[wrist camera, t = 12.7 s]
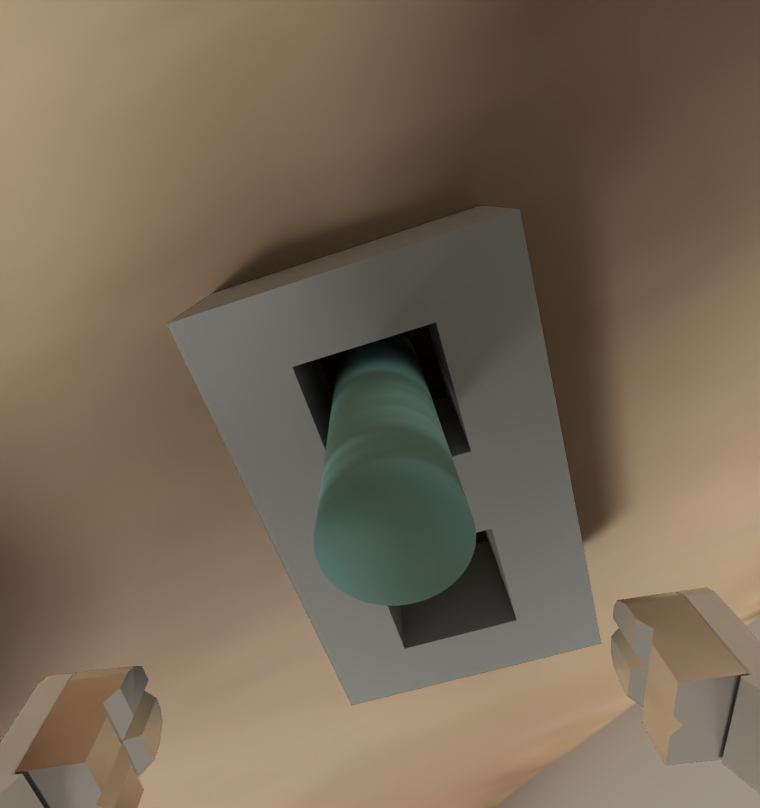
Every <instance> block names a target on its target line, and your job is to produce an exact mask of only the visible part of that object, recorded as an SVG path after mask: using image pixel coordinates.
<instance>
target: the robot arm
mask: <svg viewBox="0 0 760 808" xmlns="http://www.w3.org/2000/svg"><path fill="white" fill-rule="evenodd" d="M613 618H614V620H615V622H616V623H617V625H618V627H619V628H618V630H617V631H616V632H615V633H614V634H613V635H612V636H611V655H612V659H613V664H614V669H615V671H616V674H617V676H618V679H619V681H620V683H621V685H622V687H623V689H624V691H625V693H626V695H627V696H628V697H629V698H630V699H632V700H633V701H635V702H636V703H637V704H639V705H640V706H642V707H643V708H644V709H643V717H642V724H643V726H644V727H645V729H646V731H647V733H648V735H649V737H650V738H651V740H652V742H653V744H654V745H655V747H656V749H657V751H658V753H659V755H660V756H661V758H662V760H663V762H664V764H665V765H674V764H683V763H692V762H702V761H712V760H722V764H724V765H725V766H726V767H727V768H728V769H730V770H731V771H732V772H733V773H735V774H736V775H737V776H738V777H739V778H741V779H742V780H743V781H744V782H745V783H747V784H748V785H749V786H750V787H751V788H753V789H754V790H755V791H756V792H758V793H759V794H760V641H759V640H758V639H757V637H756V636H755V635H754V634H753V633H752V632H751V631H750V630H749V629H748V628H747V626H746V625H745V624H744V623H743V622H742V621H741V620H740V619H739V618H738V617H737V616H736V614H735V613H734V612H733V611H732V610H731V609H730V608H729V607H728V606H727V605H726V604H725V603H724V601H723V600H722V599H721V598H720V597H719V596H718V595H717V594H716V593H715V592H714V591H712V590H710V589H709V588H700V589H692V590H685V591H678V592H675V593H674V592H669V593H662V594H656V595H649V596H642V597H635V598H629V599H622V600H617V602H616V603H615V605H614V610H613ZM147 682H148V678H147V676H146V674H145V672H144V670H143V668H142V666H130V667H121V668H112V669H102V670H93V671H84V672H77V673H69V674H60V675H52V676H48V677H46V678H45V679H44V680H42V681H41V682H40V683H39V684H38V685H37V686H36V688H35V689H34V691H33V692H32V694H31V696H30V697H29V699H28V700H27V702H26V703H25V705H24V707H23V708H22V710H21V711H20V713H19V714H18V716H17V717H16V719H15V721H14V722H13V724H12V725H11V727H10V728H9V730H8V732H7V733H6V735H5V736H4V738H3V739H2V741H1V742H0V808H138V805H139V802H140V799H141V796H142V794H143V791H144V789H143V786H142V783H141V780H140V775H141V774H142V773H143V772H144V771H145V770H146V769H147V767H148V766H149V765H150V764H151V763H152V762H153V761H154V759H155V756H156V753H157V750H158V747H159V744H160V738H161V729H162V716H161V708H160V706H159V703H158V701H157V699H156V698H155V697H154V696H152V695H151V694H149V693H147V692H146V691H144V690H145V687H146V685H147Z"/></svg>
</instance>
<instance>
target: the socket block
mask: <svg viewBox="0 0 760 808" xmlns="http://www.w3.org/2000/svg"><path fill="white" fill-rule="evenodd" d="M166 325H167V327H168V329H169V331H170V333H171V335H172V337H173V339H174V341H175V343H176V345H177V347H178V349H179V351H180V353H181V355H182V357H183V360H184V362H185V364H186V366H187V368H188V370H189V372H190V374H191V376H192V378H193V380H194V382H195V384H196V386H197V388H198V390H199V392H200V395H201V397H202V399H203V401H204V403H205V405H206V407H207V409H208V411H209V413H210V415H211V417H212V419H213V421H214V423H215V425H216V427H217V430H218V432H219V434H220V436H221V438H222V440H223V442H224V444H225V446H226V448H227V450H228V452H229V454H230V456H231V458H232V460H233V462H234V465H235V467H236V469H237V471H238V473H239V475H240V477H241V479H242V481H243V483H244V485H245V487H246V489H247V491H248V493H249V495H250V497H251V500H252V502H253V504H254V506H255V508H256V510H257V512H258V514H259V516H260V518H261V520H262V522H263V524H264V526H265V528H266V530H267V532H268V535H269V537H270V539H271V541H272V543H273V545H274V547H275V549H276V551H277V553H278V555H279V557H280V559H281V561H282V563H283V565H284V567H285V570H286V572H287V574H288V576H289V578H290V580H291V582H292V584H293V586H294V588H295V590H296V592H297V594H298V596H299V598H300V600H301V602H302V605H303V607H304V609H305V611H306V613H307V615H308V617H309V619H310V621H311V623H312V625H313V627H314V629H315V631H316V633H317V635H318V637H319V640H320V642H321V644H322V646H323V648H324V650H325V652H326V654H327V656H328V658H329V660H330V662H331V664H332V666H333V668H334V670H335V672H336V674H337V677H338V679H339V681H340V683H341V685H342V687H343V689H344V691H345V693H346V695H347V697H348V699H349V701H350V703H351V705H355V704H360V703H364V702H368V701H372V700H376V699H380V698H384V697H388V696H392V695H396V694H400V693H404V692H408V691H412V690H416V689H420V688H424V687H428V686H432V685H436V684H440V683H444V682H448V681H452V680H456V679H460V678H464V677H468V676H472V675H477V674H481V673H485V672H489V671H493V670H497V669H501V668H505V667H509V666H513V665H517V664H521V663H525V662H529V661H533V660H537V659H541V658H545V657H549V656H553V655H557V654H561V653H565V652H569V651H573V650H577V649H581V648H585V647H590V646H594V645H598V644H601V639H600V634H599V629H598V623H597V618H596V613H595V607H594V602H593V597H592V591H591V586H590V581H589V575H588V570H587V565H586V559H585V554H584V549H583V543H582V538H581V533H580V527H579V522H578V516H577V511H576V506H575V500H574V495H573V490H572V484H571V479H570V474H569V468H568V463H567V458H566V452H565V447H564V442H563V436H562V431H561V426H560V420H559V415H558V410H557V404H556V399H555V394H554V388H553V383H552V378H551V372H550V367H549V361H548V356H547V351H546V345H545V340H544V335H543V329H542V324H541V319H540V313H539V308H538V303H537V297H536V292H535V287H534V281H533V276H532V271H531V265H530V260H529V255H528V249H527V244H526V239H525V233H524V228H523V223H522V217H521V212H520V209H515V208H505V207H495V206H484V205H480V206H477V207H474V208H471V209H468V210H465V211H462V212H459V213H456V214H453V215H450V216H447V217H444V218H441V219H438V220H435V221H431V222H428V223H425V224H422V225H419V226H416V227H413V228H410V229H407V230H404V231H401V232H398V233H395V234H392V235H389V236H386V237H383V238H380V239H377V240H374V241H371V242H367V243H364V244H361V245H358V246H355V247H352V248H349V249H346V250H343V251H340V252H337V253H334V254H331V255H328V256H325V257H322V258H319V259H316V260H313V261H310V262H307V263H303V264H300V265H297V266H294V267H291V268H288V269H285V270H282V271H279V272H276V273H273V274H270V275H267V276H264V277H261V278H258V279H255V280H252V281H249V282H246V283H243V284H240V285H236V286H233V287H230V288H227V289H224V290H221V291H218V292H215V293H212V294H211V295H209V296H208V297H206V298H205V299H203V300H202V301H200V302H199V303H197V304H196V305H194V306H193V307H191V308H190V309H188V310H187V311H185V312H184V313H182V314H181V315H179V316H178V317H176V318H175V319H173V320H172V321H170V322H169V323H167V324H166ZM426 325H428V327H429V331H430V334H431V338H432V341H433V345H434V349H435V352H436V356H437V359H438V363H439V367H440V370H441V374H442V377H443V381H444V385H445V388H446V392H447V395H448V397H445V398H442V399H439V400H435V401H433V404H434V407H435V410H436V412H437V415H438V418H439V421H440V424H441V427H442V430H443V433H444V436H445V438H446V441H447V444H448V447H449V450H450V453H451V456H452V459H453V462H454V464H455V467H456V470H457V473H458V476H459V479H460V482H461V485H462V488H463V490H464V493H465V496H466V499H467V502H468V505H469V508H470V511H471V514H472V516H473V519H474V523H475V528H476V533H477V532H481V531H484V530H485V532H486V536H487V539H488V541H485V542H481V543H478V544H476V545H475V550H474V553H473V556H472V559H471V561H470V563H469V565H468V566H467V568H466V570H465V571H464V573H463V574H462V575H461V576H460V577H459V579H457V580H456V581H455V582H454V583H453V584H452V585H451V586H450V587H448V588H447V589H446V590H444V591H442V592H441V593H439V594H437V595H435V596H433V597H431V598H429V599H426V600H423V601H420V602H417V603H412V604H407V605H398V606H386V605H376V604H371V603H367V602H364V601H361V600H358V599H355V598H353V597H351V596H349V595H347V594H346V593H344V592H342V591H341V590H339V589H338V588H337V587H336V586H334V585H333V584H332V583H331V582H330V581H329V580H328V579H327V577H326V576H325V575H324V573H323V572H322V570H321V568H320V566H319V565H318V562H317V559H316V556H315V552H314V540H313V539H314V531H315V523H316V516H317V509H318V502H319V494H320V487H321V480H322V473H323V465H324V458H325V451H326V444H327V437H328V429H329V422H330V415H331V408H332V400H333V394H332V391H331V388H330V386H329V383H328V380H327V378H326V375H325V372H324V370H323V367H322V364H321V362H320V358H323V357H326V356H329V355H333V354H336V353H339V352H342V351H345V350H349V349H352V348H355V347H358V346H362V345H365V344H368V343H371V342H374V341H378V340H381V339H384V338H387V337H391V336H394V335H397V334H400V333H403V332H407V331H410V330H413V329H416V328H420V327H423V326H426Z"/></svg>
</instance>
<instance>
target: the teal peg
mask: <svg viewBox="0 0 760 808" xmlns="http://www.w3.org/2000/svg"><path fill="white" fill-rule="evenodd" d="M313 540H314V552H315V556H316V559H317V562H318V565H319V566H320V568H321V570H322V572H323V573H324V575H325V576H326V577H327V579H328V580H329V581H330V582H331V583H332V584H333V585H334V586H336V587H337V588H338V589H339V590H341V591H342V592H344V593H346V594H347V595H349V596H351V597H353V598H355V599H358V600H361V601H364V602H367V603H371V604H376V605H386V606H398V605H407V604H412V603H417V602H420V601H423V600H426V599H429V598H431V597H433V596H435V595H437V594H439V593H441V592H442V591H444V590H446V589H447V588H448V587H450V586H451V585H452V584H453V583H454V582H455V581H456V580H457V579H459V577H460V576H461V575H462V574H463V573H464V571H465V570H466V568H467V566H468V565H469V563H470V561H471V559H472V556H473V553H474V550H475V545H476V528H475V523H474V519H473V516H472V514H471V511H470V508H469V505H468V502H467V499H466V496H465V493H464V490H463V488H462V485H461V482H460V479H459V476H458V473H457V470H456V467H455V464H454V462H453V459H452V456H451V453H450V450H449V447H448V444H447V441H446V438H445V436H444V433H443V430H442V427H441V424H440V421H439V418H438V415H437V412H436V410H435V407H434V404H433V401H432V398H431V395H430V392H429V389H428V386H427V384H426V381H425V378H424V375H423V372H422V369H421V366H420V363H419V360H418V358H417V355H416V352H415V349H414V347H413V345H412V344H411V342H410V341H409V340H408V339H407V338H406V337H405V336H404V335H403V334H402V333H400V334H397V335H394V336H391V337H387V338H384V339H381V340H378V341H374V342H371V343H368V344H365V345H362V346H358V347H355V348H352V349H349V350H345V351H342V352H340V353H339V357H338V364H337V371H336V379H335V386H334V393H333V400H332V408H331V415H330V422H329V429H328V437H327V444H326V451H325V458H324V465H323V473H322V480H321V487H320V494H319V502H318V509H317V516H316V523H315V531H314V539H313Z"/></svg>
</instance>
